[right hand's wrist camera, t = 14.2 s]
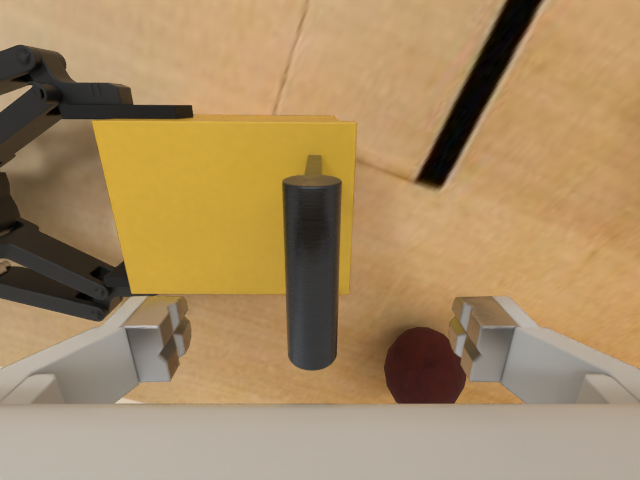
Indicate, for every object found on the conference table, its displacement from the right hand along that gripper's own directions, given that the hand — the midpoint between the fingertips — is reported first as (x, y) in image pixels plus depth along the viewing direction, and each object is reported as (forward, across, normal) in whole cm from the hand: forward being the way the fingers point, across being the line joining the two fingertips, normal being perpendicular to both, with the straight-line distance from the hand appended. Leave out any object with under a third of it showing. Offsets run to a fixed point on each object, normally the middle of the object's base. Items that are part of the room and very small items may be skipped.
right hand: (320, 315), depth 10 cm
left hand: (+13, -8, 0) cm, 15 cm away
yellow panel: (+11, -5, 0) cm, 12 cm away
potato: (+20, +10, -17) cm, 28 cm away
